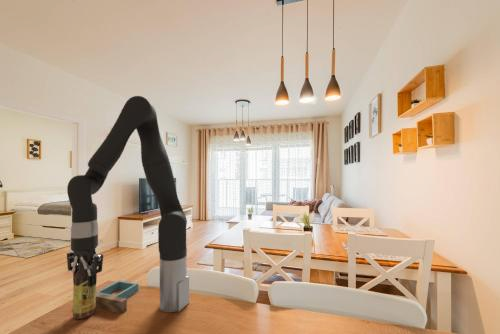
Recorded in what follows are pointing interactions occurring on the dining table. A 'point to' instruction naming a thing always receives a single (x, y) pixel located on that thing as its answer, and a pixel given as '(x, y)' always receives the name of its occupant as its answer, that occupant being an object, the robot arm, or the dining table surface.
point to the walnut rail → (111, 303)
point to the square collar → (123, 285)
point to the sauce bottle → (83, 293)
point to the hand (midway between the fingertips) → (84, 284)
